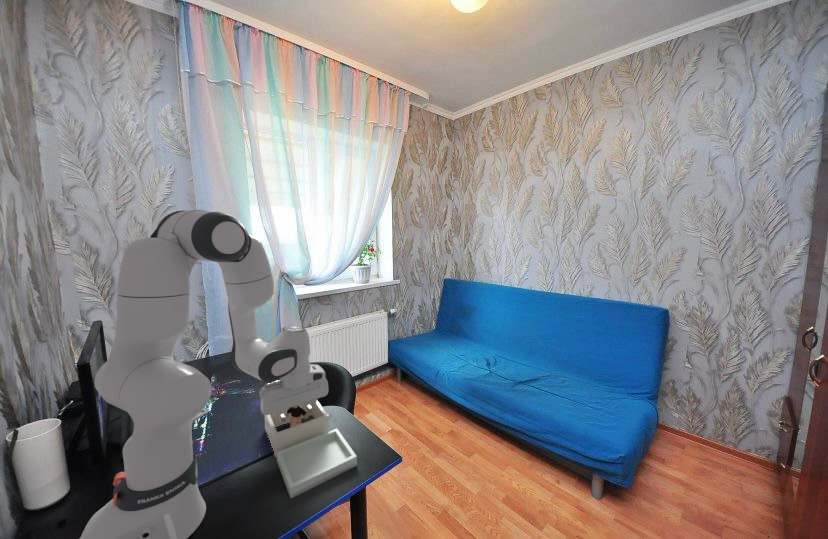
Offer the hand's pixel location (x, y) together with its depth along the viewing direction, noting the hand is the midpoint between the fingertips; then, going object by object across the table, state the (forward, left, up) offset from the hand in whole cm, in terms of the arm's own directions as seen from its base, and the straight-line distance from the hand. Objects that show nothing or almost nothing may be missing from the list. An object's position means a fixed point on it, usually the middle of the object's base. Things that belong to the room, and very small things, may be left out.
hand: (296, 415), depth 96 cm
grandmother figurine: (0, 0, -6) cm, 6 cm away
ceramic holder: (0, 0, -6) cm, 6 cm away
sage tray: (+1, -16, -6) cm, 17 cm away
